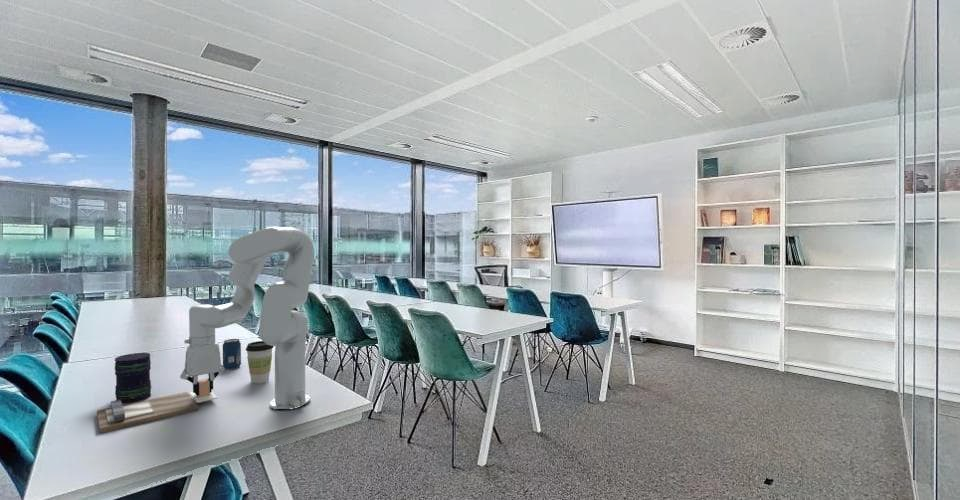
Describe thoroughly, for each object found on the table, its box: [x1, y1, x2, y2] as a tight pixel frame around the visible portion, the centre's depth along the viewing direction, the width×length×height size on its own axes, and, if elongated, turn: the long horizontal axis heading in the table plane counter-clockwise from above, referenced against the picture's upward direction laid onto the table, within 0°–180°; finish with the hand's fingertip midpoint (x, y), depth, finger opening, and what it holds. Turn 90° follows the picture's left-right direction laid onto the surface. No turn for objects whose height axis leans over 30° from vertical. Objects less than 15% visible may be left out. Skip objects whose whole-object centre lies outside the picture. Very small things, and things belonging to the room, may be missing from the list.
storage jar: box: [114, 352, 152, 405], centre depth 150 cm, size 10×10×15 cm
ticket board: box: [96, 391, 199, 434], centre depth 138 cm, size 18×24×4 cm
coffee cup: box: [245, 340, 275, 384], centre depth 168 cm, size 10×10×15 cm
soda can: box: [222, 338, 242, 370], centre depth 186 cm, size 7×7×12 cm
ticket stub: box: [189, 378, 219, 404], centre depth 148 cm, size 12×6×5 cm, turn 44°
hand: (203, 392), depth 148 cm, fingers closed on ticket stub, 3 cm apart
